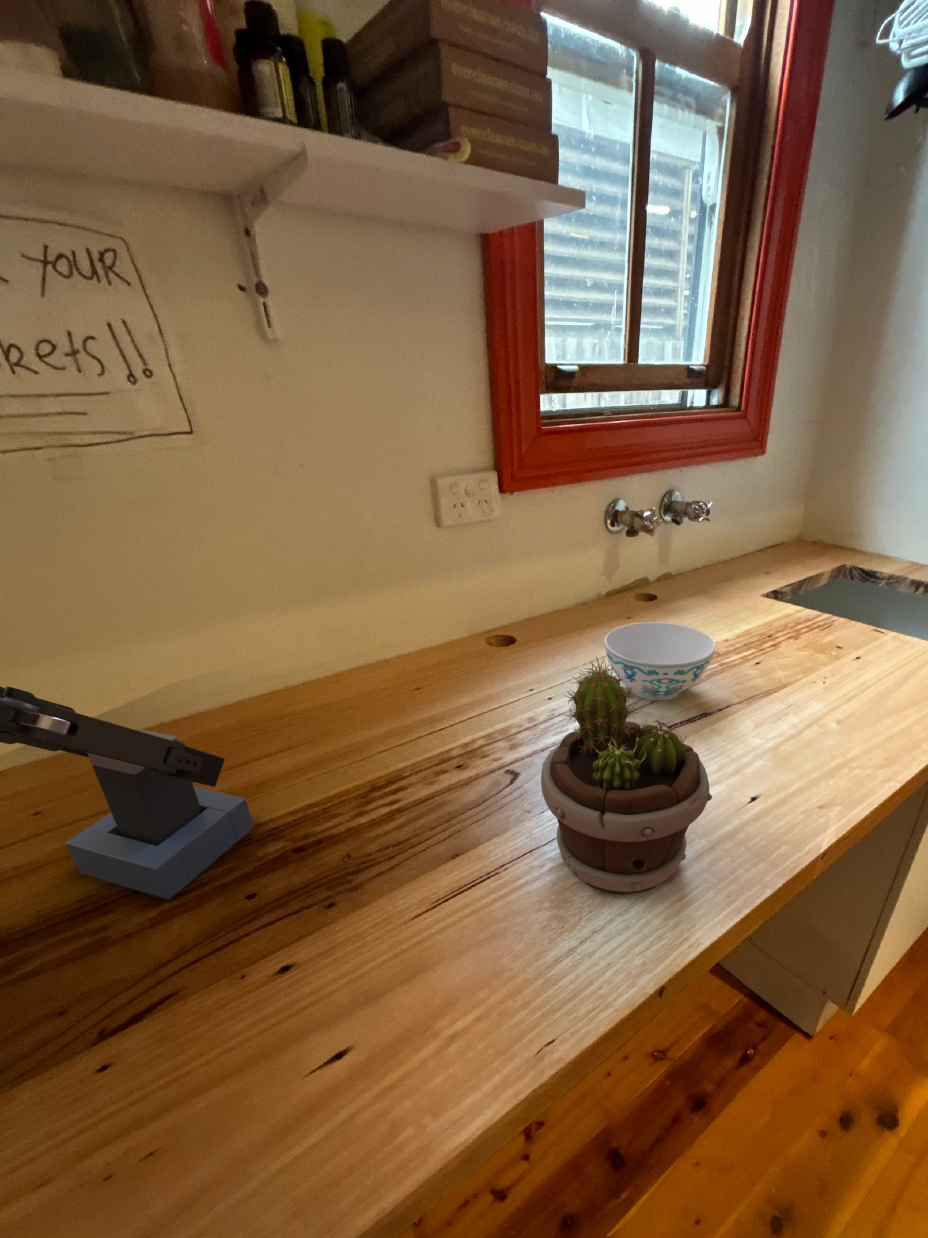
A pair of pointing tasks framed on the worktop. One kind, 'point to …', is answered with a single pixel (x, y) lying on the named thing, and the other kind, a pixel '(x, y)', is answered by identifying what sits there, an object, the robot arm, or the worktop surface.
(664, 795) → the flowerpot
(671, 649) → the chinaware
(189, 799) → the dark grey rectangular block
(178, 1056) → the worktop surface
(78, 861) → the block
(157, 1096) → the worktop surface
